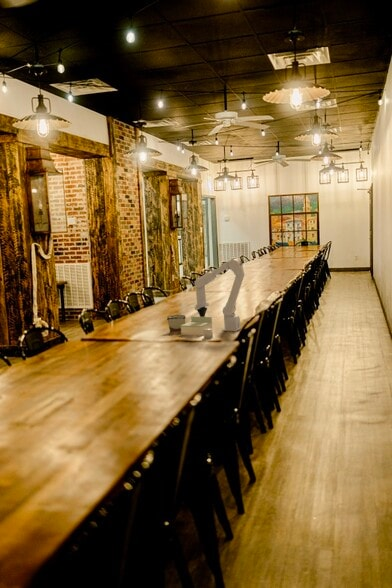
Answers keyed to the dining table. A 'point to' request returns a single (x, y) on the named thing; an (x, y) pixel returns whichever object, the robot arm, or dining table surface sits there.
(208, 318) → the lid
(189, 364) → the dining table surface
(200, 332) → the box
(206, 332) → the cream rounded piece
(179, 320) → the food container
